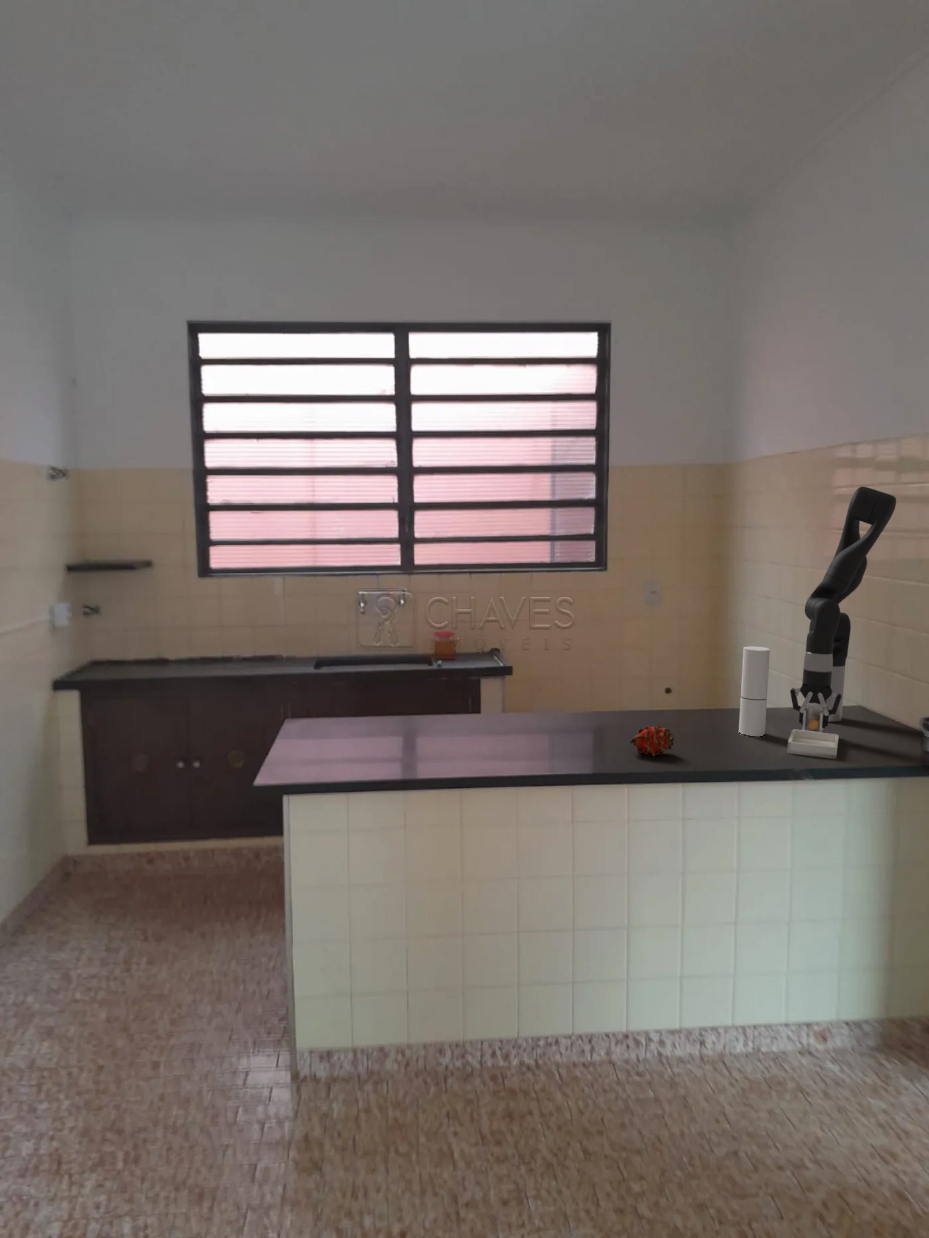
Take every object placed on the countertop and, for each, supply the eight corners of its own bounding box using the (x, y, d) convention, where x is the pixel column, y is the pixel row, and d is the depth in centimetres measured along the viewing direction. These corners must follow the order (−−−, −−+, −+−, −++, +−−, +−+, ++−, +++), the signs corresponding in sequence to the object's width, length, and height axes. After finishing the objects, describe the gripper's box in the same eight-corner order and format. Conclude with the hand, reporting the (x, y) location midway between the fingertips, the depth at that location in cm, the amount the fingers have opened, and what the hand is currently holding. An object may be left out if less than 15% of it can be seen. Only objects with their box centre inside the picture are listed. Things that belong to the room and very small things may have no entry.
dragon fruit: (677, 760, 228) (633, 767, 227) (667, 735, 234) (624, 742, 233) (681, 740, 222) (635, 748, 221) (670, 715, 228) (626, 722, 227)
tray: (791, 739, 244) (792, 729, 243) (837, 744, 239) (838, 734, 238) (787, 753, 230) (787, 742, 230) (836, 759, 225) (836, 748, 225)
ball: (805, 719, 245) (805, 729, 244) (813, 719, 242) (813, 730, 242) (814, 719, 246) (813, 729, 246) (822, 720, 243) (821, 730, 243)
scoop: (805, 725, 251) (806, 705, 250) (823, 727, 249) (825, 707, 248) (802, 731, 244) (803, 711, 243) (821, 734, 242) (822, 713, 241)
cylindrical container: (765, 732, 251) (771, 647, 248) (763, 738, 245) (768, 651, 241) (740, 729, 254) (745, 645, 251) (737, 735, 248) (741, 649, 244)
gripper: (789, 667, 244) (785, 726, 246) (844, 673, 237) (839, 733, 240) (792, 663, 250) (788, 720, 253) (846, 668, 244) (841, 726, 247)
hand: (813, 726), depth 246 cm, fingers closed on scoop, 5 cm apart
